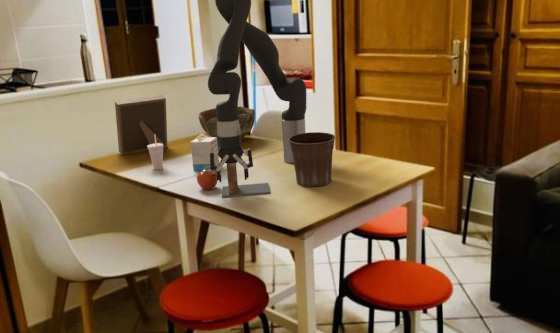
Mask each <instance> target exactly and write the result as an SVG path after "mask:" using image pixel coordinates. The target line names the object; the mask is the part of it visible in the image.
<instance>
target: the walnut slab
mask: <svg viewBox="0 0 560 333" xmlns="http://www.w3.org/2000/svg"><path fill="white" fill-rule="evenodd" d="M226 174H227V177H226V178H227V184H228V185H227V186H228V188H229V195H234V194H238V185H239V184H238V183H239V182H238V171H237V163H227V164H226Z"/></svg>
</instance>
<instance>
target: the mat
mask: <svg viewBox="0 0 560 333" xmlns="http://www.w3.org/2000/svg"><path fill="white" fill-rule="evenodd" d="M269 194H271V191H270V185H269V182H260V183H250V184H238V194H234V195H229V188H228V185H227V186H226V185H224V186H222V190H221V198H223V199H224V198H233V197H244V196H259V195H269Z"/></svg>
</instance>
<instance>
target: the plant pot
mask: <svg viewBox="0 0 560 333" xmlns="http://www.w3.org/2000/svg"><path fill="white" fill-rule="evenodd" d="M336 138H337V137H336V135H335V134H332V133H330V132H319V131H318V132H316V131H315V132H314V131H313V132H306V133H301V134H297V135H293V136H291V137H289V139H288V141H289V142H290V146H291V151H292V153H293V160H294V163H293V164H294V171H295V178H296V183H297V184H298V185H299V186H301V187H306V188H307V187H308V188H313V187H323V186H327V185H329V184H330V183H331V182H332V169H333V150H334V147H335V140H336Z"/></svg>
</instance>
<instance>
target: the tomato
mask: <svg viewBox="0 0 560 333" xmlns="http://www.w3.org/2000/svg"><path fill="white" fill-rule="evenodd" d="M218 181H219V180H217V173H216V171H215V170H211V169H208V167H205V169H204V170H200V172H199V173H198V174H197V175H196V182H197V184H198V186H199V188H201V189H202V190H204V191H210V190H214V189H215V188H216V185H217V184H218Z"/></svg>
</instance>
